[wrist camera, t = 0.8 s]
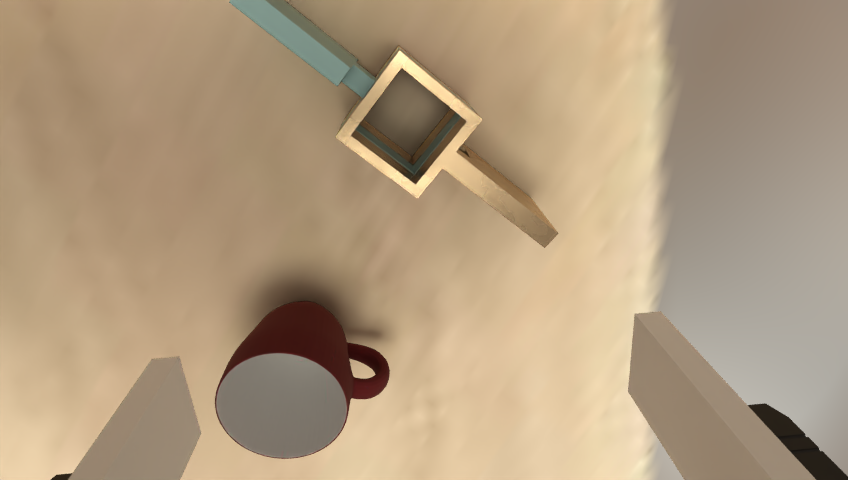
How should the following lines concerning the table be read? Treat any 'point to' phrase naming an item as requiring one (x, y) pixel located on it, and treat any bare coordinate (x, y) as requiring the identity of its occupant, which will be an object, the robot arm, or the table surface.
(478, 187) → the square hinge knuckle
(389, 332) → the table surface
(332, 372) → the mug
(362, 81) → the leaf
